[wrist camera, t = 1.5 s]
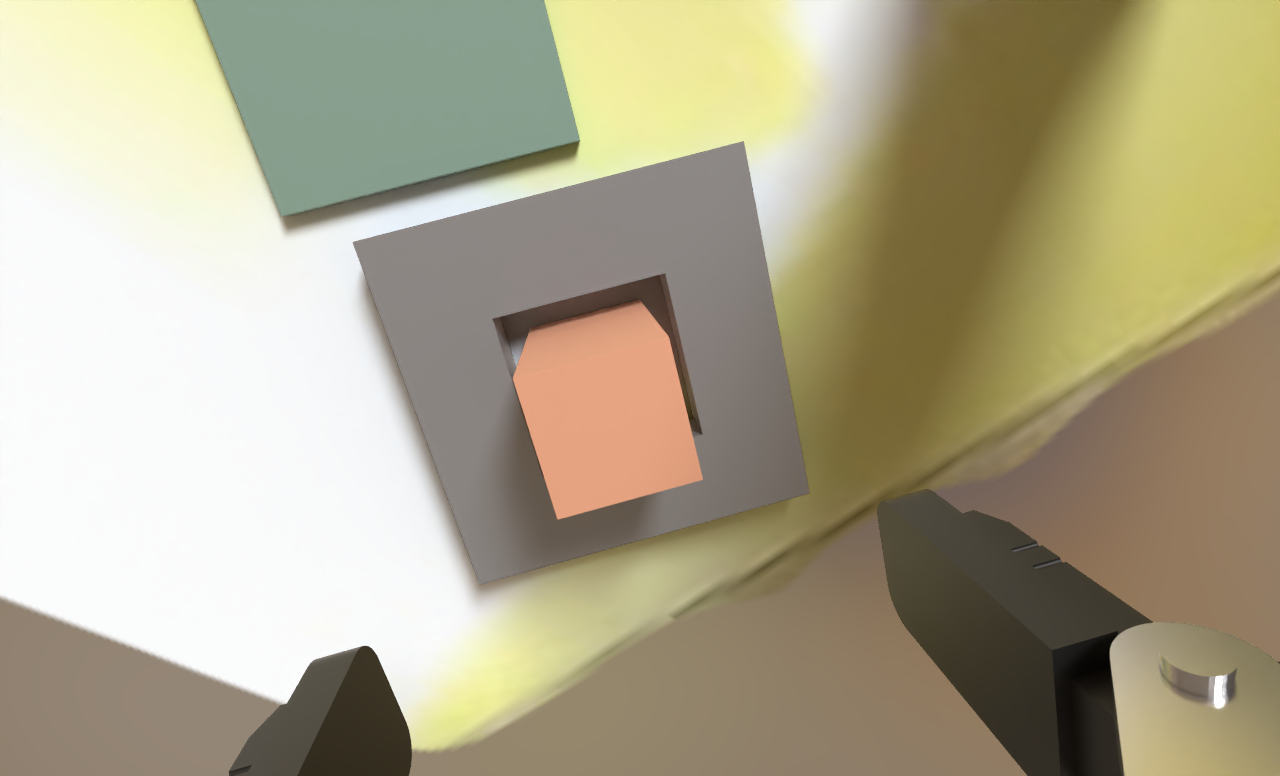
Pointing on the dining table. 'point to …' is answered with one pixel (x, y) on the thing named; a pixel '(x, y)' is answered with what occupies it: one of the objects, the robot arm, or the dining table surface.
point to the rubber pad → (388, 90)
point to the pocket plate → (569, 267)
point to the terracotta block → (605, 409)
